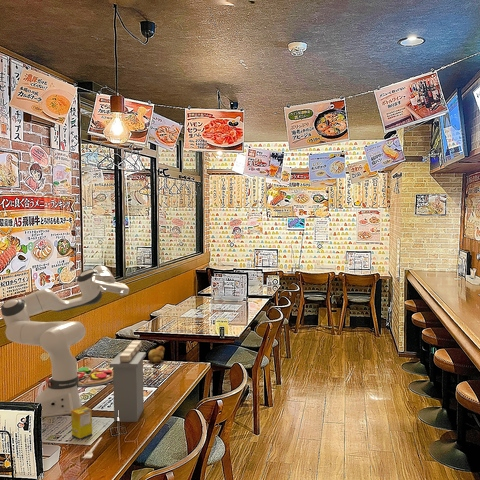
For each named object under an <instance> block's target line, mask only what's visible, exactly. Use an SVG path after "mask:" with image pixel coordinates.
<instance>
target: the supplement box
mask: <svg viewBox="0 0 480 480" xmlns="http://www.w3.org/2000/svg"><path fill="white" fill-rule="evenodd" d="M70 416H71V420H70V421H71V436H72V438H74V439H76V440H78V441H82V440H83V439H84V440H85V439H87V438H89V437H92V436H93V417H92V416H93V414H92V409H91V408H90V407H86V406H84V405H83V406H82V405H81V407H80V408H77V409H74V410H71V414H70Z"/></svg>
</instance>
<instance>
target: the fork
mask: <svg viewBox="0 0 480 480" xmlns="http://www.w3.org/2000/svg"><path fill="white" fill-rule="evenodd" d="M102 439H103V437H102V436H101V437H100V438H99V439H98V440H97V441H96V442H95V444H94V445H93V446H92V447H91V448H90V450H89V451H87V452H86V453H85V454H84V456H82V457H80V458H81V459H92V457H93V456H94V453H93V452H94V450H95V449H96V448H97V446H98V445H99V443H100V442H101V440H102Z"/></svg>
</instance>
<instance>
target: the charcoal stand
mask: <svg viewBox="0 0 480 480" xmlns="http://www.w3.org/2000/svg"><path fill="white" fill-rule="evenodd" d="M122 353H123V351H120V352H118V354H117V355H116V356H115V357H114V358H113V359H112V361H110V363H109V364H108V365H109V368H112V371H113V381H112V382H113V385H112V386H113V390H112V391H113V421H114V422H115V423H117V422H116V421H117V417H118V410H119V418H120V422H119V423H121V422H123V423H132V422H133V423H137V422H138V421H139V419H140V417H141V416H142V414H143V411H144V407H145V405H144V404H145V403H144V359H145V357H146V356H147V353H146V352H145V351H141V352H140V351H137V352H136V354H135V355H134V356H133V358H132V359H131V360H130V361H129V362H120V355H121V354H122Z"/></svg>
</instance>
